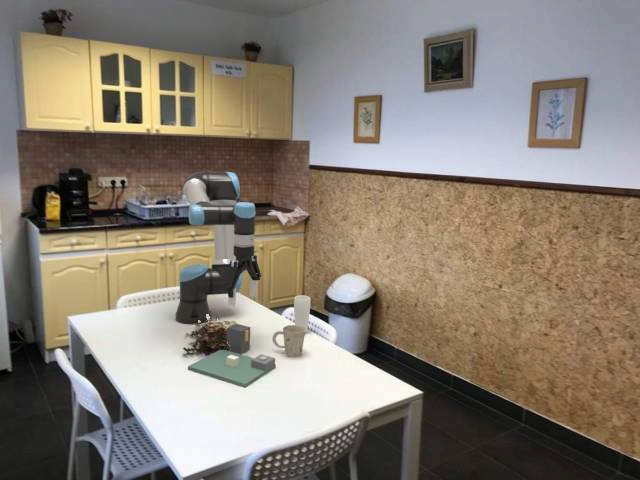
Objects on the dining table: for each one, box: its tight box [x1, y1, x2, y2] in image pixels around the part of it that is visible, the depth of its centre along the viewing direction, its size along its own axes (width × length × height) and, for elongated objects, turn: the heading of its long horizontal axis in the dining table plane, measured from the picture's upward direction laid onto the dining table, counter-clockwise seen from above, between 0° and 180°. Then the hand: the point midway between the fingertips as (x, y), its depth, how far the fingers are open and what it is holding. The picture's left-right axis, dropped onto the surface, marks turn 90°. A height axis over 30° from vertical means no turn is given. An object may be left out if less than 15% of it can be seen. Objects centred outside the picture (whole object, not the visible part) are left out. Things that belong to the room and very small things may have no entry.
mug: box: [271, 324, 306, 358], centre depth 193 cm, size 8×13×10 cm, turn 78°
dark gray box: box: [226, 323, 251, 355], centre depth 194 cm, size 7×6×9 cm
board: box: [187, 349, 277, 388], centre depth 178 cm, size 24×18×4 cm
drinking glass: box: [293, 294, 311, 334], centre depth 215 cm, size 7×7×15 cm
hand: (242, 301), depth 192 cm, fingers open, 13 cm apart
